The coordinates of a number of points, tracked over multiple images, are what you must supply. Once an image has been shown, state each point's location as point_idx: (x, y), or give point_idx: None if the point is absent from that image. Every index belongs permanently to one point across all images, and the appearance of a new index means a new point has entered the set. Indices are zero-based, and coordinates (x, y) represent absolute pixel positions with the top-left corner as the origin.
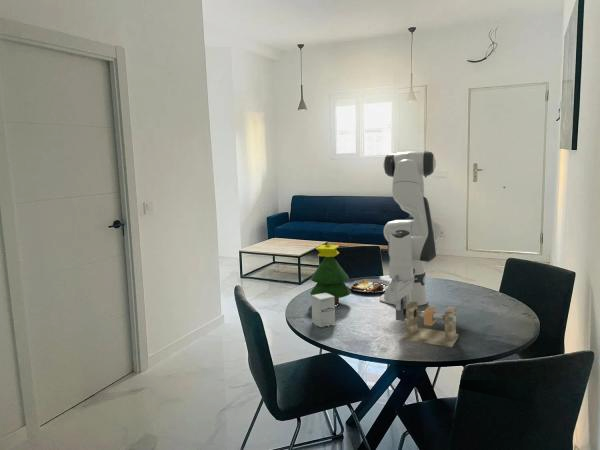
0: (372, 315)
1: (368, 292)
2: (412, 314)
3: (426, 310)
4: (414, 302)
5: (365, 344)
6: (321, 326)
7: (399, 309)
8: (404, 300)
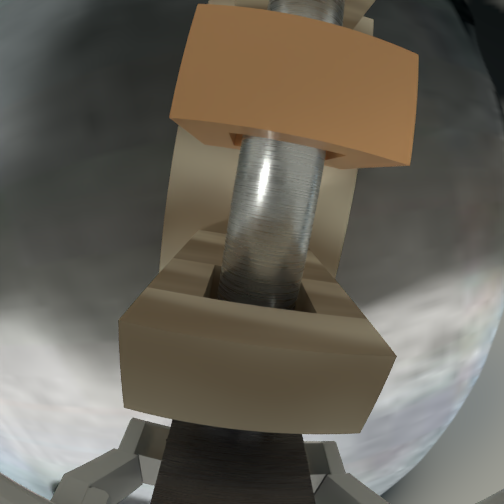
0: (76, 440)
1: None
2: (354, 307)
3: (377, 123)
4: (147, 366)
5: (399, 416)
6: None
7: (333, 448)
8: (255, 500)
